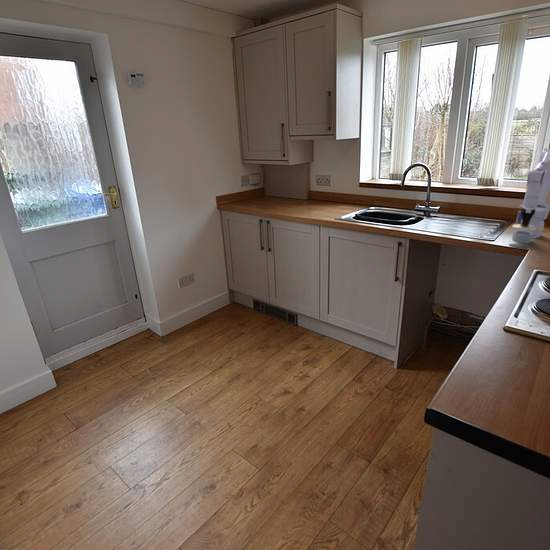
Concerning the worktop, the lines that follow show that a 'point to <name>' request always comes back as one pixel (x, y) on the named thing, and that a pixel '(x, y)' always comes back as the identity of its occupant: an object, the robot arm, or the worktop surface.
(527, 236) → the bowl
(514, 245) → the mat
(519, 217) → the flask
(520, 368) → the worktop surface
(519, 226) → the lid
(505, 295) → the worktop surface
